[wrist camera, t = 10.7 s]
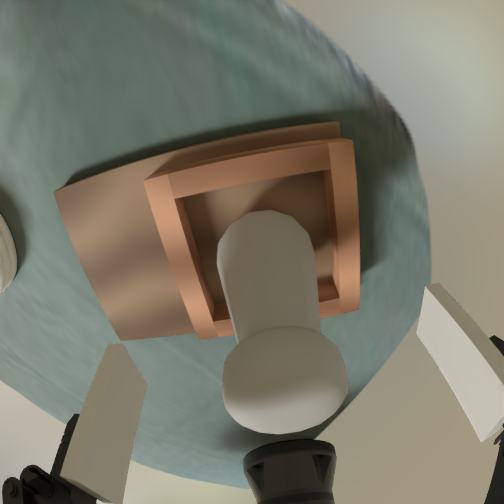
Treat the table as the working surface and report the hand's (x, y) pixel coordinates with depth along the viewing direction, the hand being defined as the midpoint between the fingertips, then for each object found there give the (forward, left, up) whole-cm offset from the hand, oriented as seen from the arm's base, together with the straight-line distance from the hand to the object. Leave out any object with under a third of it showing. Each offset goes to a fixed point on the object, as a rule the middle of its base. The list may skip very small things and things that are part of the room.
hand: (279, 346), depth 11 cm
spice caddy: (0, +4, -11) cm, 12 cm away
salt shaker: (0, 0, -10) cm, 10 cm away
